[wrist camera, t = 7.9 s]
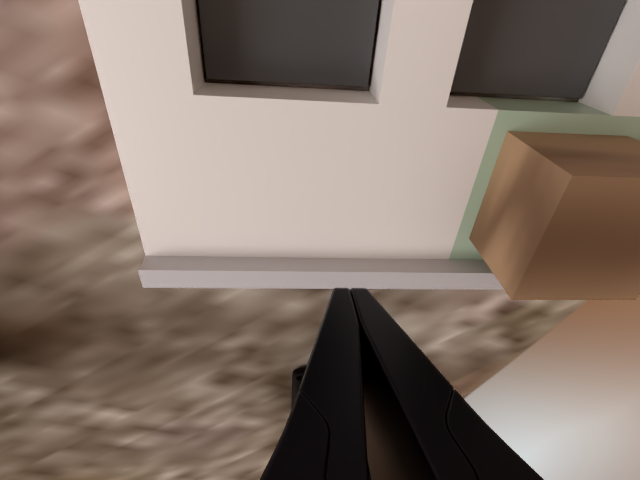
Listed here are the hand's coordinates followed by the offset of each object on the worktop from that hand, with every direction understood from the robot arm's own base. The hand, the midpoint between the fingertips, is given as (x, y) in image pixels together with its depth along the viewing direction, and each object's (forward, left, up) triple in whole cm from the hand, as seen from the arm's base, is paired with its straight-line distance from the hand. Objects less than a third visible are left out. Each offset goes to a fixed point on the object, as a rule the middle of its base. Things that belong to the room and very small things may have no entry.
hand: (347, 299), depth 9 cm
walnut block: (0, -9, -7) cm, 11 cm away
